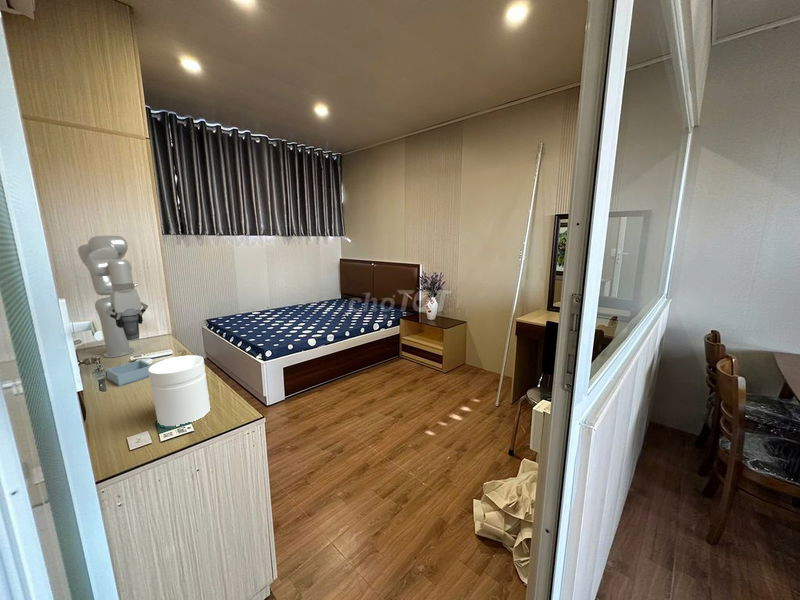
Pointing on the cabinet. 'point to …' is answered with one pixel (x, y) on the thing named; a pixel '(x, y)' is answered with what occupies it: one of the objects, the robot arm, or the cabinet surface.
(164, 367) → the canister
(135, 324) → the beverage cup
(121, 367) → the bin
